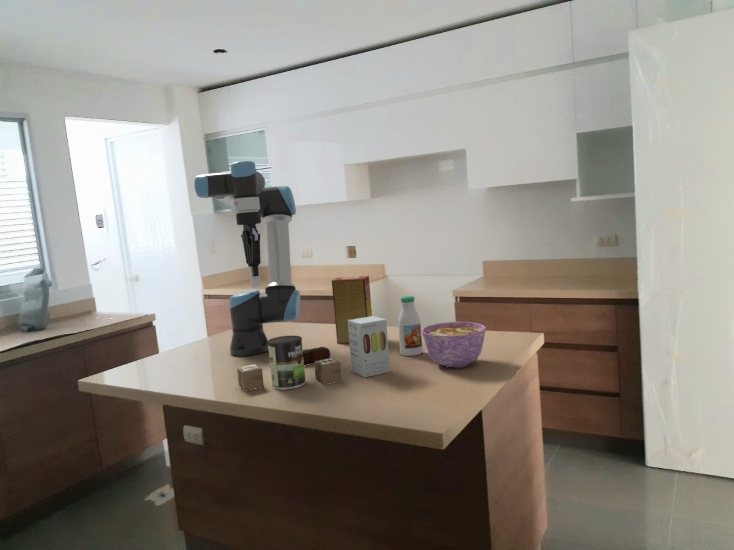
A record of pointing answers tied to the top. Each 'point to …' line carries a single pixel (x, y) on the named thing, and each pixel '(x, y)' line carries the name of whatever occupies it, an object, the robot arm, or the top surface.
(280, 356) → the coffee can
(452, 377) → the top surface
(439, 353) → the bowl of food
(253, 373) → the number block left
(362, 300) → the food packaging
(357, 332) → the supplement box
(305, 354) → the brick
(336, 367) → the number block right
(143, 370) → the top surface
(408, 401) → the top surface
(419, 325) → the milk bottle
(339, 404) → the top surface
